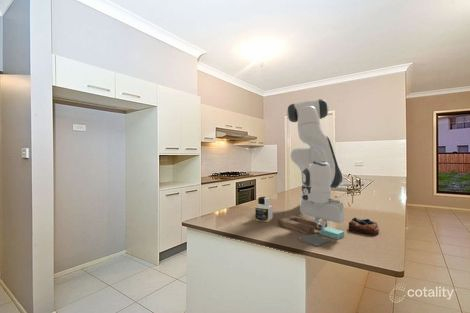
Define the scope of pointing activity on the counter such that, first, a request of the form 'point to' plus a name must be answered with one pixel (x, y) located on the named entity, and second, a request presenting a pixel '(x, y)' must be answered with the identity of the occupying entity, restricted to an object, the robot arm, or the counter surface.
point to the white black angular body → (263, 210)
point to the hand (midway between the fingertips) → (320, 228)
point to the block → (332, 233)
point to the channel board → (300, 224)
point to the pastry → (363, 226)
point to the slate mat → (314, 240)
